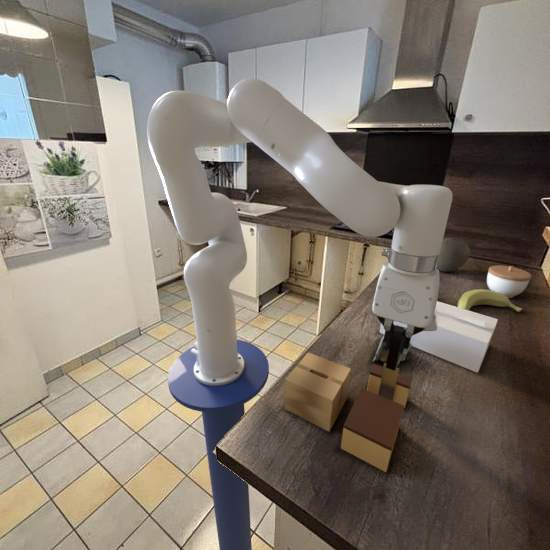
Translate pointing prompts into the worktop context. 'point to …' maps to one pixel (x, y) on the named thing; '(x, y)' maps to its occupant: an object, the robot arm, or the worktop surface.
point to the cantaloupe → (452, 254)
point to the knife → (391, 365)
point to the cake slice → (400, 389)
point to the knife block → (317, 390)
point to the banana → (484, 299)
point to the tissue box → (456, 336)
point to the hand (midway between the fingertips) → (395, 347)
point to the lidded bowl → (507, 280)
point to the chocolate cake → (383, 352)
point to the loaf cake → (372, 428)
